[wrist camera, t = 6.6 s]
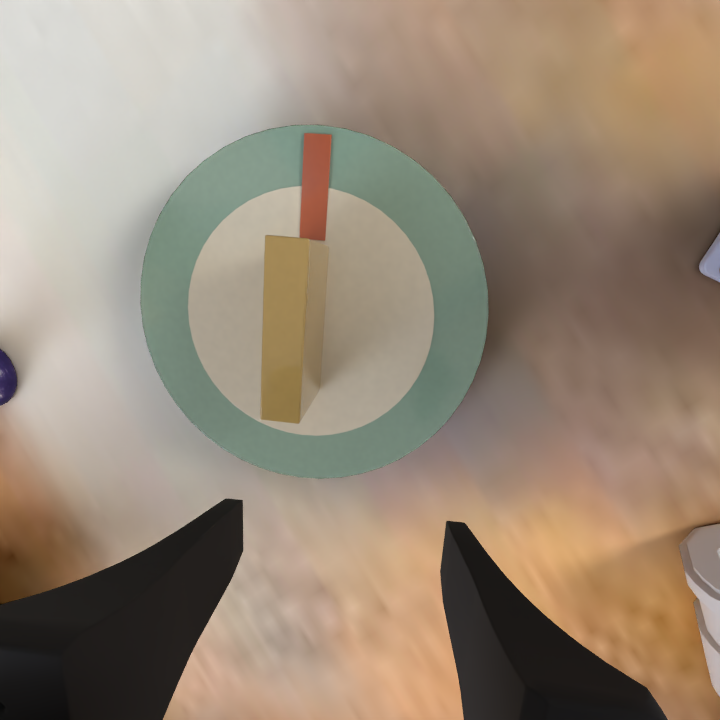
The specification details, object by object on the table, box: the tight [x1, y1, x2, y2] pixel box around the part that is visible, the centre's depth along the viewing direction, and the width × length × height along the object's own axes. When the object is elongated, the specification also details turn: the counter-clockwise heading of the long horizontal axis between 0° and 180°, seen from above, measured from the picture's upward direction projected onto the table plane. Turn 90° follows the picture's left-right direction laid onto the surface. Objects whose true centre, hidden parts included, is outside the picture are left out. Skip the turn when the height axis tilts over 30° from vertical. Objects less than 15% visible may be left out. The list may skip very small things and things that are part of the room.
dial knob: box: [140, 125, 489, 479], centre depth 17 cm, size 17×17×5 cm
